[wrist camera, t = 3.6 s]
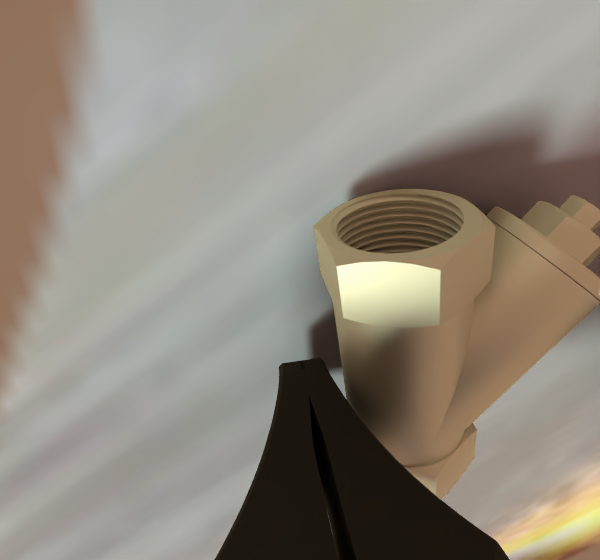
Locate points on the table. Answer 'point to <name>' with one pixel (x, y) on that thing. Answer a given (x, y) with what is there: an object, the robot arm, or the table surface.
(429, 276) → the pipe fitting
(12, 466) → the table surface
